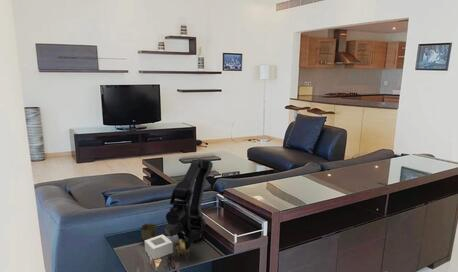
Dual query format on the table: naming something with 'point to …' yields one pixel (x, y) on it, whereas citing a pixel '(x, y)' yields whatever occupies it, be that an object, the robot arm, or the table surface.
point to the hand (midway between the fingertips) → (184, 247)
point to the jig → (158, 246)
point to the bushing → (183, 247)
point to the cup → (148, 231)
